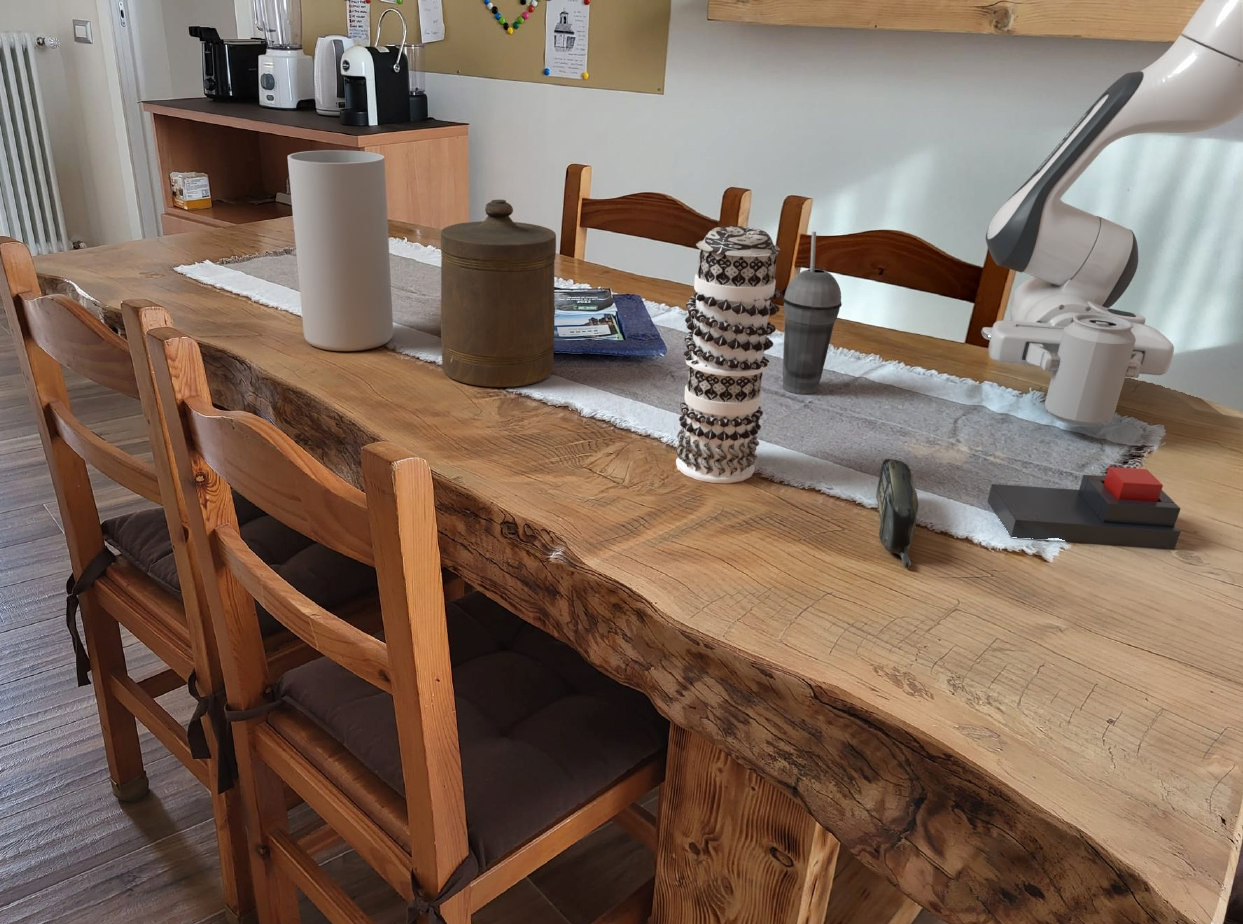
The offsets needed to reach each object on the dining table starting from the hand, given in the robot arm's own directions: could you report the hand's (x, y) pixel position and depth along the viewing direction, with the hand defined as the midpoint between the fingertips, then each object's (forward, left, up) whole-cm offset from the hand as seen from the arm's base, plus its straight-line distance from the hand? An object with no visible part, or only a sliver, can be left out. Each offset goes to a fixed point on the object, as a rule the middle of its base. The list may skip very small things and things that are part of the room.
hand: (1093, 367), depth 114 cm
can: (0, -1, -7) cm, 7 cm away
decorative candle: (+43, +16, -9) cm, 47 cm away
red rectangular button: (+4, +24, -5) cm, 25 cm away
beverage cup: (+31, -11, -9) cm, 34 cm away
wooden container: (+71, -11, -9) cm, 72 cm away
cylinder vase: (+94, -20, -9) cm, 97 cm away
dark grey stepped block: (+8, +24, -8) cm, 27 cm away
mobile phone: (+27, +28, -9) cm, 40 cm away
